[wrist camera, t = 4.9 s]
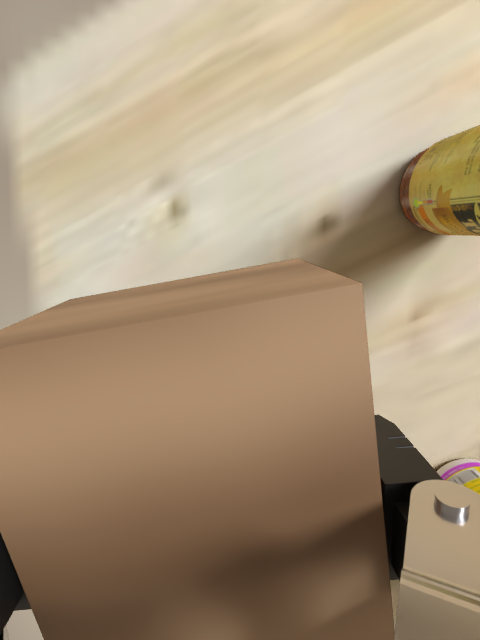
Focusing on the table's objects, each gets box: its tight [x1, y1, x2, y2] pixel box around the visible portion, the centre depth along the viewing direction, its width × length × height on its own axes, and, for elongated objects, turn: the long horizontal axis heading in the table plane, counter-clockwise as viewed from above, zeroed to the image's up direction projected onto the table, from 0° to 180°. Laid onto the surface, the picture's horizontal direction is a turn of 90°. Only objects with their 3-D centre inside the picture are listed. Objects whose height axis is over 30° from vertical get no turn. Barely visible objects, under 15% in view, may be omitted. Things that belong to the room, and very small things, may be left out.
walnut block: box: [0, 258, 395, 640], centre depth 9 cm, size 9×6×5 cm
